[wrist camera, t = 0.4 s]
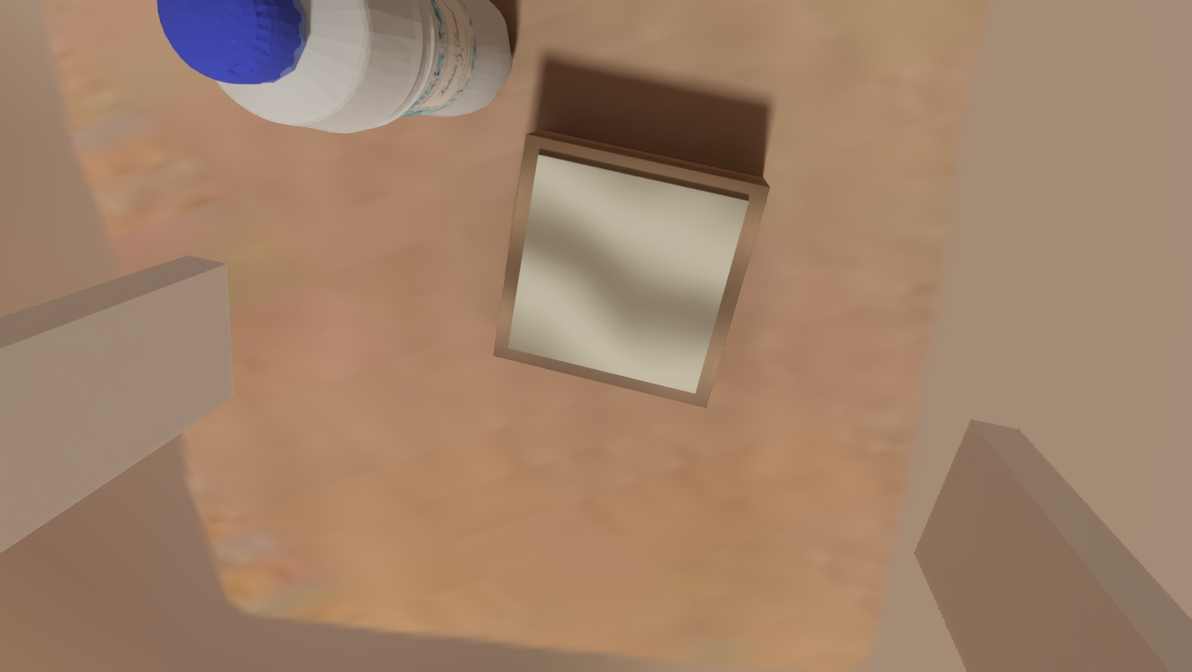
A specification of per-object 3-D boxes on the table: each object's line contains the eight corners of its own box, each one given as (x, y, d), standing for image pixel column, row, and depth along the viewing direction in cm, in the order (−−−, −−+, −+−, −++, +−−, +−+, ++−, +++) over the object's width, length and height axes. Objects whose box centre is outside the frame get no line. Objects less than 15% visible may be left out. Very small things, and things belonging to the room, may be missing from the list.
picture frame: (544, 129, 36) (524, 134, 32) (763, 177, 35) (770, 188, 31) (512, 331, 40) (491, 357, 36) (705, 378, 40) (706, 410, 36)
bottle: (509, 133, 36) (308, 176, 18) (394, 99, 37) (79, 108, 18) (537, 0, 34) (335, -108, 15) (413, -34, 34) (69, -182, 16)
